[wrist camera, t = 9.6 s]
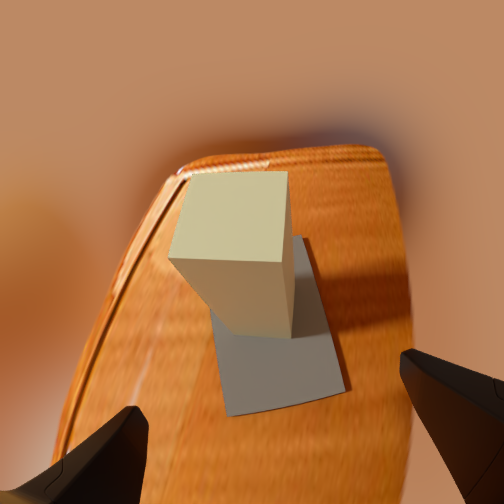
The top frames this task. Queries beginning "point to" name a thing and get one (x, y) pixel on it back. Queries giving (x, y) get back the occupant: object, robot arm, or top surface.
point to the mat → (281, 354)
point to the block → (239, 249)
